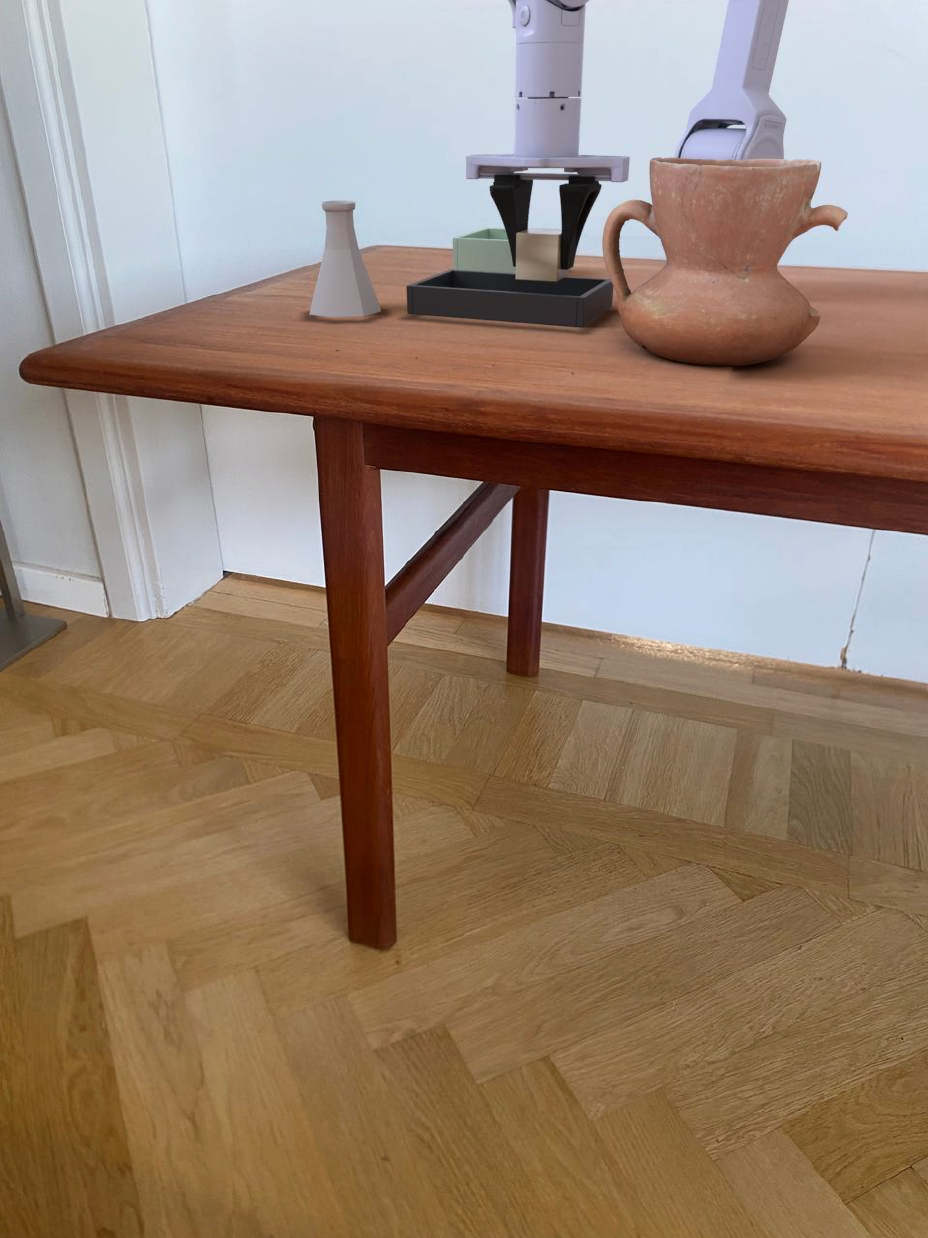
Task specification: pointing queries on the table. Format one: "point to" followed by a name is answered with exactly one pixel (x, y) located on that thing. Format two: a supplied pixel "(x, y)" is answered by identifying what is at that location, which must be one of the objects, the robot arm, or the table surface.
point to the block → (539, 255)
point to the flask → (342, 269)
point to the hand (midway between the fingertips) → (542, 266)
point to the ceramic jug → (720, 259)
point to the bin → (483, 251)
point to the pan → (510, 298)
